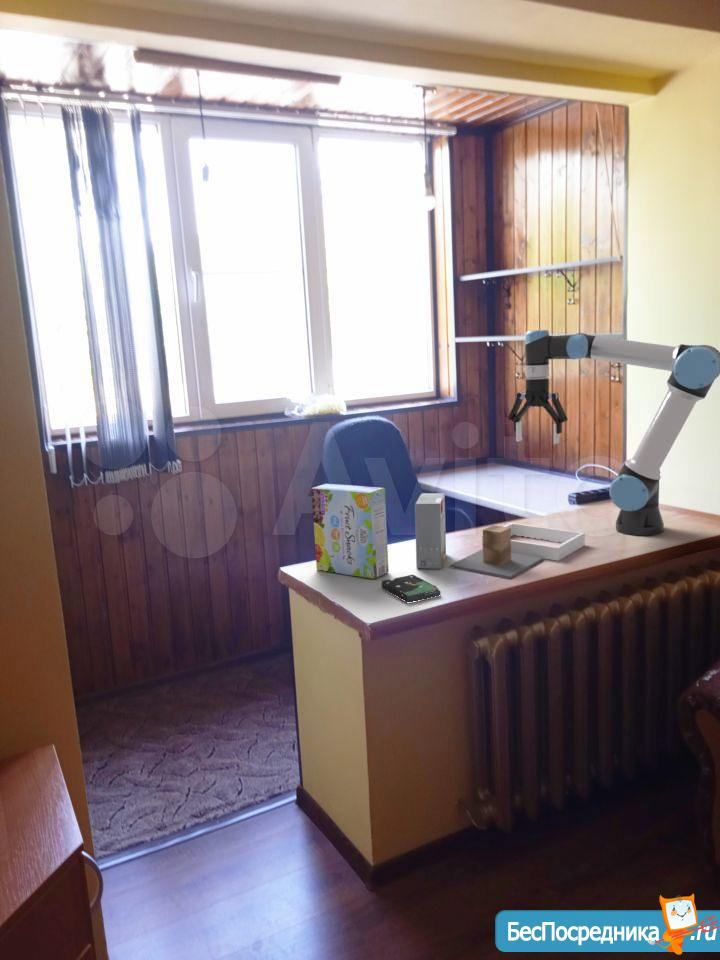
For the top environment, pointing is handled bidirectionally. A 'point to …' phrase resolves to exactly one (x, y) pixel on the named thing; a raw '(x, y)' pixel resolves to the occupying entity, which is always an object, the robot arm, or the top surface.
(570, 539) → the bin
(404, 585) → the disk drive
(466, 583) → the top surface
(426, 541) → the hard drive box
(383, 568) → the snack box
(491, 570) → the mat
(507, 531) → the walnut block
